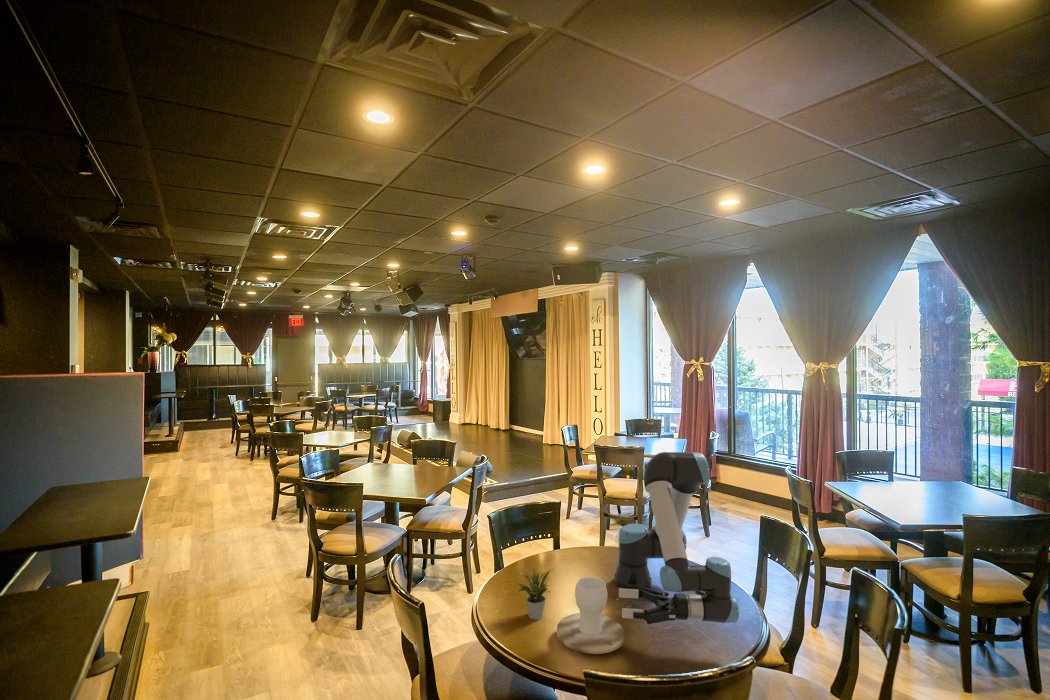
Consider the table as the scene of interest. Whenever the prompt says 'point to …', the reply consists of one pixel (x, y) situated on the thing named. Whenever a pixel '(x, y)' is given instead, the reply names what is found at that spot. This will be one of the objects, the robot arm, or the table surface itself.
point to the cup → (590, 604)
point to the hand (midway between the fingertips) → (620, 602)
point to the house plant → (535, 594)
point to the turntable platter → (586, 643)
